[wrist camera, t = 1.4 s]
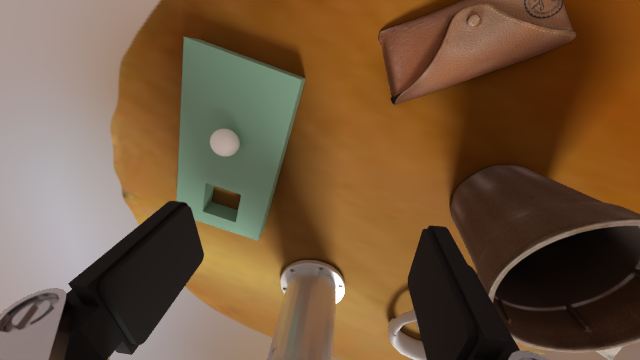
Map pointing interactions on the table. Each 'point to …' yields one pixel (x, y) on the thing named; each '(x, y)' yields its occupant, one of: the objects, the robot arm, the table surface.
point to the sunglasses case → (469, 42)
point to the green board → (243, 119)
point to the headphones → (405, 337)
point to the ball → (224, 142)
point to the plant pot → (552, 259)
